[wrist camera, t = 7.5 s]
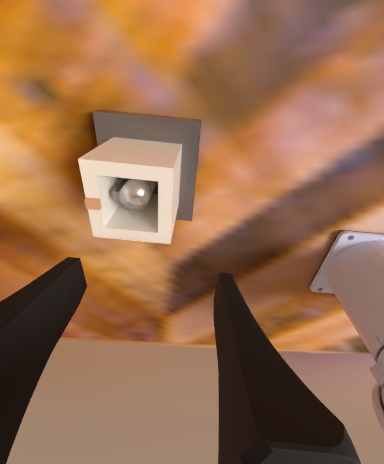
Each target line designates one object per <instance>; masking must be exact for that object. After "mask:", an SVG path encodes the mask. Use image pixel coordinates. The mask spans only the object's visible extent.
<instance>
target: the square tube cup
mask: <svg viewBox="0 0 384 464" xmlns="http://www.w3.org/2000/svg"><path fill="white" fill-rule="evenodd" d="M181 154H182V144H176V143H167V142H157V141H147V140H137V139H127V138H118V137H113V138H111V139H109V140H108V141H106V142H105V143H103V144H101V145H100V146H98V147H96V148H95V149H93V150H91V151H90V152H88V153H87V154H85V155H83V156H82V157H80V158H78V162H79V167H80V172H81V177H82V182H83V187H84V192H85V197H86V198H85V199H84V202H85V207H86V209H88V212H89V217H90V222H91V228H92V233H93V237H102V238H112V239H122V240H132V241H143V242H153V243H163V244H170V243H171V239H172V234H173V229H174V224H175V219H176V215H177V210H178V204H179V187H180V171H181ZM123 178H129V179H139V180H149V181H158V195H157V194H152V195H151V197H150V199H149V201H148V203H147V205H146V207H145V208H143V209H141V210H137V211H134V210H130V209H128V208H126V207H125V206H124V205H123V204H122V203H121V201H116V200H113V194H112V191H113V190H114V189H115V187H116V186H117V185H118V184H119V183H120V181H121V180H122V179H123Z"/></svg>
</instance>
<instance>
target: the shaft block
mask: <svg viewBox="0 0 384 464" xmlns="http://www.w3.org/2000/svg"><path fill="white" fill-rule="evenodd" d="M92 112H93V119H94V125H95V132H96V139H97V145H98V146H100V145H101V144H103V143H105V142H106V141H108V140H109V139H111V138H113V137H118V138H127V139H137V140H147V141H157V142H167V143H176V144H182V154H181V171H180V187H179V204H178V210H177V215H176V219H178V220H188V221H192V214H193V204H194V193H195V183H196V172H197V161H198V151H199V140H200V129H201V120H199V119H189V118H178V117H168V116H157V115H147V114H137V113H126V112H116V111H105V110H95V111H92ZM112 194H113V200H116V201H121V203H122V204H123V205H124V206H125V207H126V208H128V209H130V210H134V211H137V210H141V209H143V208H145V207H146V205H147V203H148V201H149V199H150V197H151V195H152V194H157V195H158V181H149V180H139V179H129V178H123V179H122V180H121V181H120V183H119V184H118V185H117V186H116V187H115V189H114V190H113V191H112Z"/></svg>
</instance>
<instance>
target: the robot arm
mask: <svg viewBox="0 0 384 464" xmlns="http://www.w3.org/2000/svg"><path fill="white" fill-rule="evenodd" d="M349 236H351V237H349ZM348 237H349V238H348ZM86 287H87V284H86V280H85V276H84V272H83V268H82V264H81V260H80V258H72V257H68V258H66V259H65V260H63V261H62V262H60V263H59V264H57V265H56V266H54V267H53V268H51V269H50V270H49V271H47V272H46V273H44V274H43V275H41V276H40V277H38V278H37V279H35V280H34V281H32V282H31V283H30V284H28V285H27V286H25V287H23V288H22V289H20V290H19V291H17V292H15V293H14V294H12V295H11V296H9V297H7V298H6V299H4V300H3V301H1V302H0V464H6V462H7V459H8V456H9V453H10V451H11V448H12V445H13V442H14V440H15V437H16V435H17V432H18V429H19V426H20V424H21V421H22V419H23V416H24V414H25V411H26V409H27V406H28V404H29V402H30V399H31V397H32V395H33V392H34V390H35V388H36V385H37V383H38V381H39V378H40V376H41V374H42V372H43V370H44V367H45V365H46V363H47V361H48V359H49V357H50V355H51V353H52V351H53V349H54V347H55V345H56V343H57V342H58V340H59V339H60V337H61V335H62V333H63V332H64V330H65V328H66V327H67V325H68V323H69V321H70V320H71V318H72V316H73V315H74V313H75V311H76V309H77V308H78V306H79V304H80V302H81V299H82V297H83V295H84V292H85V290H86ZM310 289H311V291H312V292H321V293H332V294H335V296H336V298H337V299H338V301H339V303H340V304H341V306H342V307H343V309H344V311H345V312H346V314H347V316H348V317H349V319H350V321H351V322H352V324H353V325H354V327H355V329H356V330H357V332H358V334H359V335H360V337H361V338H362V340H363V342H364V343H365V345H366V347H367V348H368V350H369V352H370V353H371V355H372V356H373V358H374V360H375V361H376V364H375V365H374V366H373V367H371V368H370V370H371V372H372V374H373V375H374V377H375V379H376V381H377V382H378V383H377V384H376V385H375V386H374V387H373V390H372V401H373V406H374V410H375V413H376V416H377V419H378V421H379V424H380V426H381V428H382V430H383V432H384V234H374V233H364V232H353V231H342V232H341V233H339V235H338V236H337V238H336V240H335V242H334V243H333V245H332V247H331V249H330V251H329V253H328V254H327V256H326V258H325V260H324V262H323V264H322V265H321V267H320V269H319V271H318V273H317V275H316V276H315V278H314V280H313V282H312V284H311V285H310ZM214 327H215V337H216V347H217V357H218V369H219V370H218V371H219V454H218V455H219V456H218V458H219V459H218V464H361V462H360V460H359V458H358V455H357V453H356V450H355V448H354V445H353V443H352V441H351V439H350V437H349V435H348V433H347V431H346V429H345V427H344V425H343V423H342V422H341V421H340V420H339V419H338V418H337V417H336V416H334V414H332V412H331V411H329V409H328V408H327V407H325V405H324V404H323V403H321V401H320V400H319V399H318V398H317V397H316V396H315V395H314V394H313V393H312V392H311V391H310V390H309V389H308V387H307V386H306V385H305V384H304V383H303V382H302V381H301V380H300V378H299V377H298V376H297V375H296V374H295V373H294V371H293V370H292V369H291V368H290V367H289V366H288V364H287V363H286V362H285V361H284V359H283V358H282V357H281V356H280V354H279V353H278V352H277V350H276V349H275V348H274V346H273V345H272V344H271V342H270V341H269V339H268V338H267V337H266V335H265V334H264V332H263V331H262V329H261V328H260V326H259V324H258V323H257V321H256V320H255V318H254V316H253V315H252V313H251V311H250V309H249V308H248V306H247V304H246V302H245V300H244V298H243V296H242V294H241V292H240V290H239V288H238V286H237V284H236V282H235V279H234V277H233V275H232V274H228V273H219V278H218V282H217V287H216V291H215V296H214Z"/></svg>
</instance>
